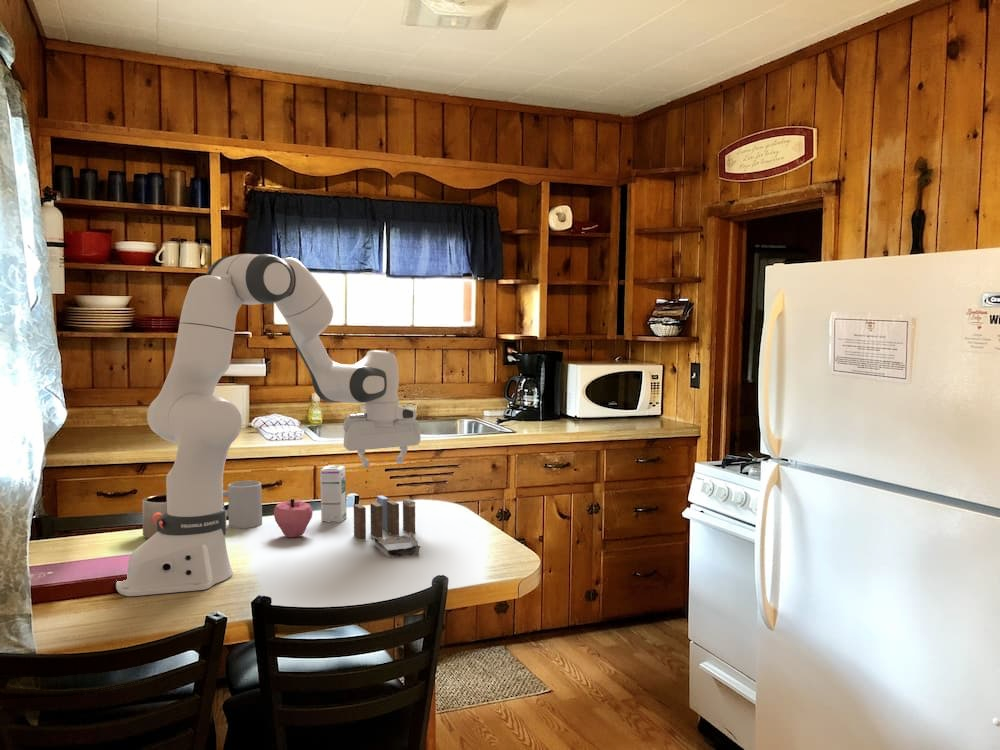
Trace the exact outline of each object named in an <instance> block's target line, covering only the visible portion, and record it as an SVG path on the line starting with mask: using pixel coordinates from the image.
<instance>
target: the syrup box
mask: <svg viewBox="0 0 1000 750" xmlns="http://www.w3.org/2000/svg"><path fill="white" fill-rule="evenodd" d="M319 475H320V476H319V477H320V478H319V479H320V512H321V513H320V515H321V522H322V521H333V522H332V523H342V522H343V521H344V520H345V519H346V518H347V492H346V491H347V486H346V466H345V465H339V464H338V465H337V464H336V465H335V464H334V465H325V466H324V467H322V468H321V469H320V470H319ZM334 521H335V522H334ZM336 521H337V522H336ZM339 521H340V522H339Z"/></svg>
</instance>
